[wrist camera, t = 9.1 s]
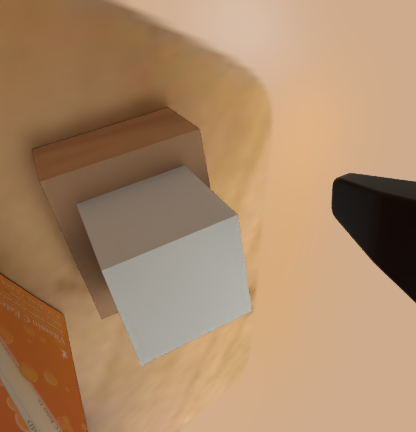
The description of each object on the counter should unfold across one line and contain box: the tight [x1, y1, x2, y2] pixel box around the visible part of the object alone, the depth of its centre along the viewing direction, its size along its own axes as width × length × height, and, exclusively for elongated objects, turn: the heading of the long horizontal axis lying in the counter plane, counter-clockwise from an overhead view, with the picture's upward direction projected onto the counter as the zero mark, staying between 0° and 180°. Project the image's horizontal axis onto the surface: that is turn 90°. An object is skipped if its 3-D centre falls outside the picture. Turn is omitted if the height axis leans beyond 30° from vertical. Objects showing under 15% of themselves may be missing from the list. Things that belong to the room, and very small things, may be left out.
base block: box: [32, 108, 210, 319], centre depth 20 cm, size 8×7×4 cm
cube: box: [76, 165, 252, 366], centre depth 17 cm, size 5×5×5 cm
